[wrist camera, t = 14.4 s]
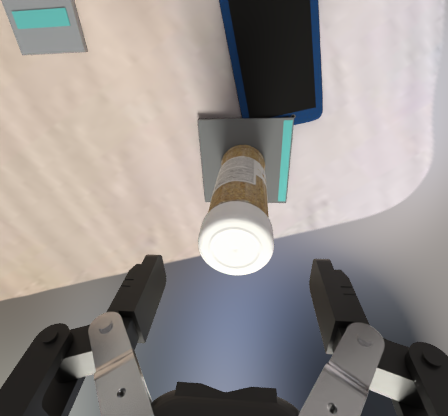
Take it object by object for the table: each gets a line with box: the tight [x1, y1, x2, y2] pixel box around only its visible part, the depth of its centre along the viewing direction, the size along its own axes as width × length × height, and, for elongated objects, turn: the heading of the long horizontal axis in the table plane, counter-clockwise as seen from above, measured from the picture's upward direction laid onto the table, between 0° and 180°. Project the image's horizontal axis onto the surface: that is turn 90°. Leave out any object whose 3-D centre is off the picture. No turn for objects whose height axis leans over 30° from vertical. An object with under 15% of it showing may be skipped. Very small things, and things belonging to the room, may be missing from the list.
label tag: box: [1, 0, 88, 55], centre depth 22 cm, size 6×5×1 cm
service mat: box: [198, 117, 294, 203], centre depth 27 cm, size 9×9×1 cm
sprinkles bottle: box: [198, 145, 274, 275], centre depth 21 cm, size 5×5×14 cm
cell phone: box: [219, 0, 322, 125], centre depth 21 cm, size 7×14×1 cm, turn 14°
